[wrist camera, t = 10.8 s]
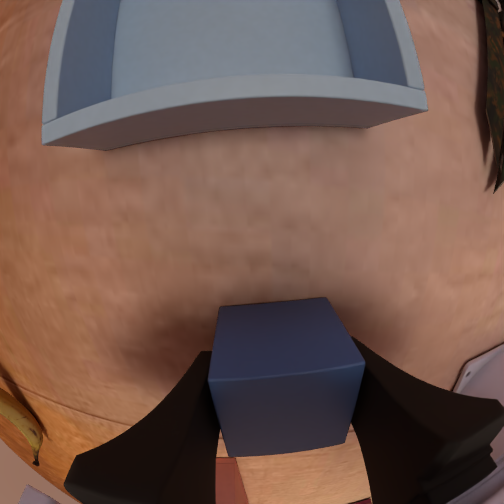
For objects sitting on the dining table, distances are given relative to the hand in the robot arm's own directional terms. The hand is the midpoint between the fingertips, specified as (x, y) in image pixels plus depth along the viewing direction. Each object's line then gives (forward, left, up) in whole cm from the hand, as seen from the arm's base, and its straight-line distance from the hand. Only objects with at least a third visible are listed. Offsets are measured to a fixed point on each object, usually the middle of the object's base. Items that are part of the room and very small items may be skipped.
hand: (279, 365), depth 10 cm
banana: (-8, +21, -2) cm, 22 cm away
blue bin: (+14, +1, -1) cm, 14 cm away
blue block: (0, 0, -1) cm, 1 cm away
